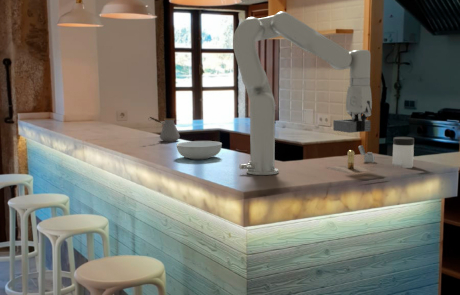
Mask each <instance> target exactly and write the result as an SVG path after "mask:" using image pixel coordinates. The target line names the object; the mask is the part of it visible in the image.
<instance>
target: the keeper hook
mask: <svg viewBox="0 0 460 295" xmlns="http://www.w3.org/2000/svg"><path fill="white" fill-rule="evenodd" d="M355 154H356V153H355V151H354V150H351V149H349V150H348V151H347V165H348V169H354V165H355Z"/></svg>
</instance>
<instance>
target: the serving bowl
mask: <svg viewBox="0 0 460 295" xmlns="http://www.w3.org/2000/svg"><path fill="white" fill-rule="evenodd" d="M222 145H223V143H222V142H220V141H216V140H215V141H212V140H194V141H192V140H191V141H184V142H180V143H177V144H176V149H177V153H179V155H180V156H182V157H184V158H187V159H189V160H195V161H196V160H208V159H210V158H213V157H215V156H217V155H218V154H219V153H220V152H221V150H222V147H223V146H222Z"/></svg>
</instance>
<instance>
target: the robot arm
mask: <svg viewBox="0 0 460 295" xmlns="http://www.w3.org/2000/svg"><path fill="white" fill-rule="evenodd" d="M278 37H282V38H284V39H286V40H287V41H289V42H291V43H292V44H293V45H294V46H296V47H298V48H300V49H302V50H304V52H307V53H310V54H312V55H315V56H316V57H319V58H320V59H322V60H323V61H325V62H327V63H328V64H329V65H330V67H331V68H332V69H334V70H339V71H343V70H346V69H349V86H348V88H347V92H346V98H345V111H346V113H347V114H348V115H349V116H350V118H351V119H352V120H353V121H358V124H357V131H358V132H357V133H361V132H360V131H365V121H366V120H367V119H368V117H370V116H372V106H373V101H372V100H373V99H372V89H371V51H370V50H368V49H355V50H347V49H346V48H344V47H343V46H341V45H339V44H338V43H336V42H334V41H333V40H331V39H330V38H328V37H326V36H325V35H323V34H322V33H320V32H319V31H317V30H316V29H314V28H313V27H310V25H307V24H306V23H305V22H303V21H301V20H299V19H298V18H296V17H295V16H294V15H292V14H290V13H288V12H286V11H279V12H277V13H275V14H274V15H270V16H266V17H261V18H257V17H254V16H250V17H246V18H245V19H244V20H243V21H241V22H240V23H239V25H238V26H237V27H236V29H235V32H234V34H233V39H232V47H233V51H234V53H233V54H234V55H235V56H234V57H235V59H236V63H237V66H238V69H239V73H240V77H241V81H242V84H243V85H244V87H245V90H246V93H247V95H248V99H249V101H250V102H249V120H250V121H249V127H250V128H249V130H250V131H249V134H250V135H249V136H250V137H249V138H250V140H249V141H250V146H249V147H250V149H249V150H250V153H249V154H250V157H249V158H250V160H248V161H247V163H244V164H243V163H242V164H239V167H238V168H239V169H240V170H246V174H249V175H254V176H255V175H256V176H266V175H267V176H271V175H276V174H278V173H279V169H278V168H276V167H275V163H276V162H275V160H276V159H275V153H276V152H275V146H276V145H275V144H276V143H275V142H276V141H275V140H276V138H275V135H276V134H275V132H276V131H275V130H276V128H275V125H276V124H275V123H276V122H275V120H276V119H275V117H276V116H275V115H276V101H275V97H274V93H273V91H272V88H271V84H270V83H269V79H268V76H267V73H266V70H264V68H263V66H262V64H261V63H262V62H261V59H260V56H259V53H258V49H257V47H256V46H257V45H256V42H258V41H264V40H268V39H274V38H278ZM365 132H366V131H365Z"/></svg>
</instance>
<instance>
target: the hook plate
mask: <svg viewBox="0 0 460 295" xmlns="http://www.w3.org/2000/svg"><path fill="white" fill-rule="evenodd" d="M326 169H328V170H333V171H338V172H341V173H346V174H354V173H362V172H371V171H376V169H374V168H369V167H366V166H362V165H361V166H360V165H356V164H354V169H348V164H346V165H337V166H328V167H326Z"/></svg>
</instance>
